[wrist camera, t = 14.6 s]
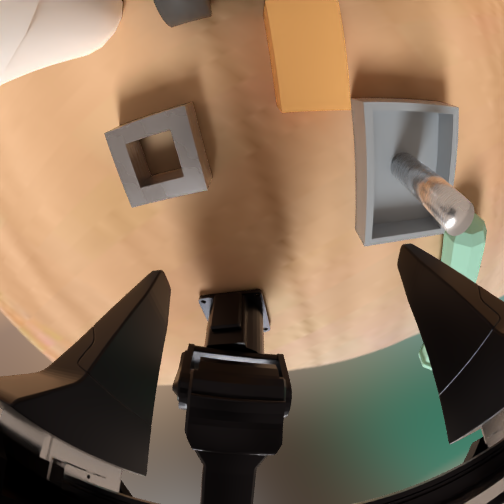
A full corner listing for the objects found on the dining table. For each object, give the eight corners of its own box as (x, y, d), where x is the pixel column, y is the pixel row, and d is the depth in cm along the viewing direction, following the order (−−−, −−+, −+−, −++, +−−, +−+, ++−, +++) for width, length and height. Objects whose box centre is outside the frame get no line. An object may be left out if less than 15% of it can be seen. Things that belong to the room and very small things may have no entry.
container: (478, 245, 16) (434, 378, 30) (502, 216, 17) (458, 353, 30) (428, 217, 21) (411, 354, 35) (457, 195, 22) (435, 332, 35)
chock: (332, 102, 16) (351, 110, 13) (276, 105, 17) (282, 112, 14) (321, 13, 12) (338, 0, 9) (263, 15, 13) (265, 0, 9)
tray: (431, 219, 22) (444, 233, 20) (355, 229, 22) (364, 246, 20) (440, 101, 15) (458, 107, 13) (350, 98, 16) (363, 101, 14)
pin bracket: (212, 177, 20) (207, 190, 18) (142, 193, 21) (131, 207, 19) (192, 101, 16) (184, 105, 14) (119, 126, 17) (104, 133, 15)
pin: (414, 179, 19) (469, 233, 12) (389, 180, 19) (441, 237, 13) (416, 152, 17) (477, 198, 11) (390, 152, 18) (449, 201, 11)
